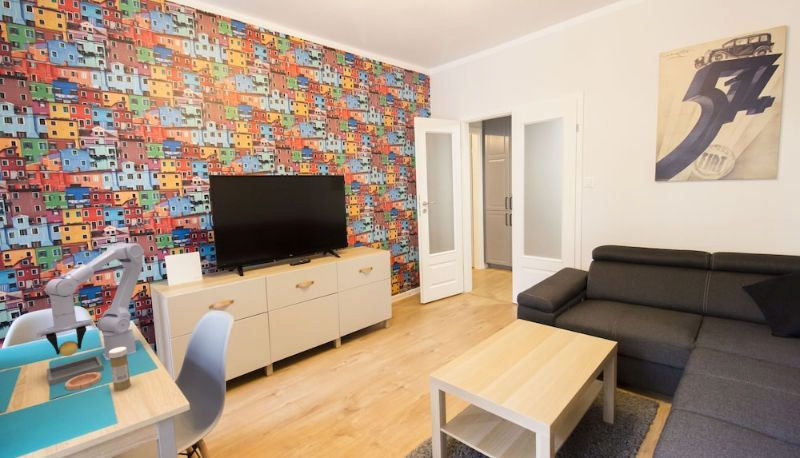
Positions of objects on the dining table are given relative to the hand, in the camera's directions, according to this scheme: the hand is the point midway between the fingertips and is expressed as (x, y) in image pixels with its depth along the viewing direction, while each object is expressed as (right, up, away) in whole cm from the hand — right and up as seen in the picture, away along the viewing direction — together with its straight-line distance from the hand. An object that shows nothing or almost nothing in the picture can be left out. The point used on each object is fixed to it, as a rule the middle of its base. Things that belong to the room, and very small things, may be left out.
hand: (68, 350), depth 129 cm
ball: (0, -2, 0) cm, 2 cm away
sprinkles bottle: (+26, -9, -10) cm, 29 cm away
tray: (+1, -9, +2) cm, 9 cm away
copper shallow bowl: (+10, -9, -6) cm, 15 cm away
